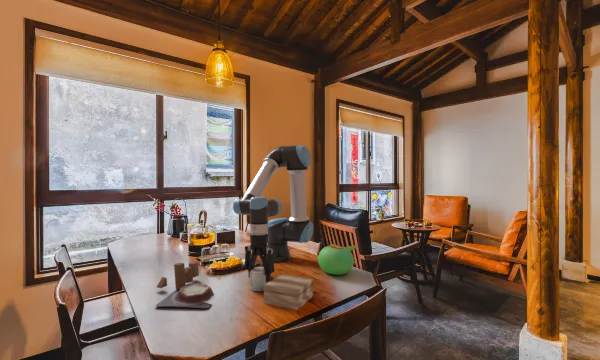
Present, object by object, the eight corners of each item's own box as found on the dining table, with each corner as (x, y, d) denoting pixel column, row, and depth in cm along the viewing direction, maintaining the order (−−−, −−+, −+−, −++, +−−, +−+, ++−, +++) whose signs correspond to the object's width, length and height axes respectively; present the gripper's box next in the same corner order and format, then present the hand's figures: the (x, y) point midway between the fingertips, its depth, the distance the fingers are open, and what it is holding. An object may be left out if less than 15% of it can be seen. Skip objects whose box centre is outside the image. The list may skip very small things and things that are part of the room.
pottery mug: (270, 283, 128) (261, 268, 127) (253, 291, 130) (243, 276, 129) (276, 269, 140) (267, 255, 139) (260, 276, 142) (251, 262, 141)
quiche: (181, 287, 125) (181, 277, 125) (226, 289, 124) (226, 280, 124) (153, 306, 104) (154, 295, 105) (207, 309, 103) (208, 298, 103)
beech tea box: (282, 290, 121) (282, 273, 121) (313, 296, 115) (313, 279, 114) (263, 303, 108) (263, 285, 108) (297, 311, 102) (297, 291, 102)
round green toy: (311, 273, 142) (311, 243, 142) (331, 265, 154) (331, 238, 154) (341, 282, 130) (341, 249, 129) (361, 273, 142) (361, 243, 142)
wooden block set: (192, 278, 135) (191, 256, 135) (205, 279, 131) (203, 257, 131) (156, 291, 120) (154, 266, 120) (169, 294, 115) (167, 268, 116)
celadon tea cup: (257, 283, 126) (257, 265, 126) (270, 286, 123) (270, 268, 123) (248, 289, 120) (247, 270, 120) (261, 292, 117) (261, 273, 117)
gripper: (235, 232, 122) (235, 286, 123) (273, 237, 113) (273, 295, 113) (246, 229, 129) (246, 280, 129) (283, 233, 120) (283, 288, 120)
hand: (259, 287), depth 121 cm, fingers closed on celadon tea cup, 7 cm apart
